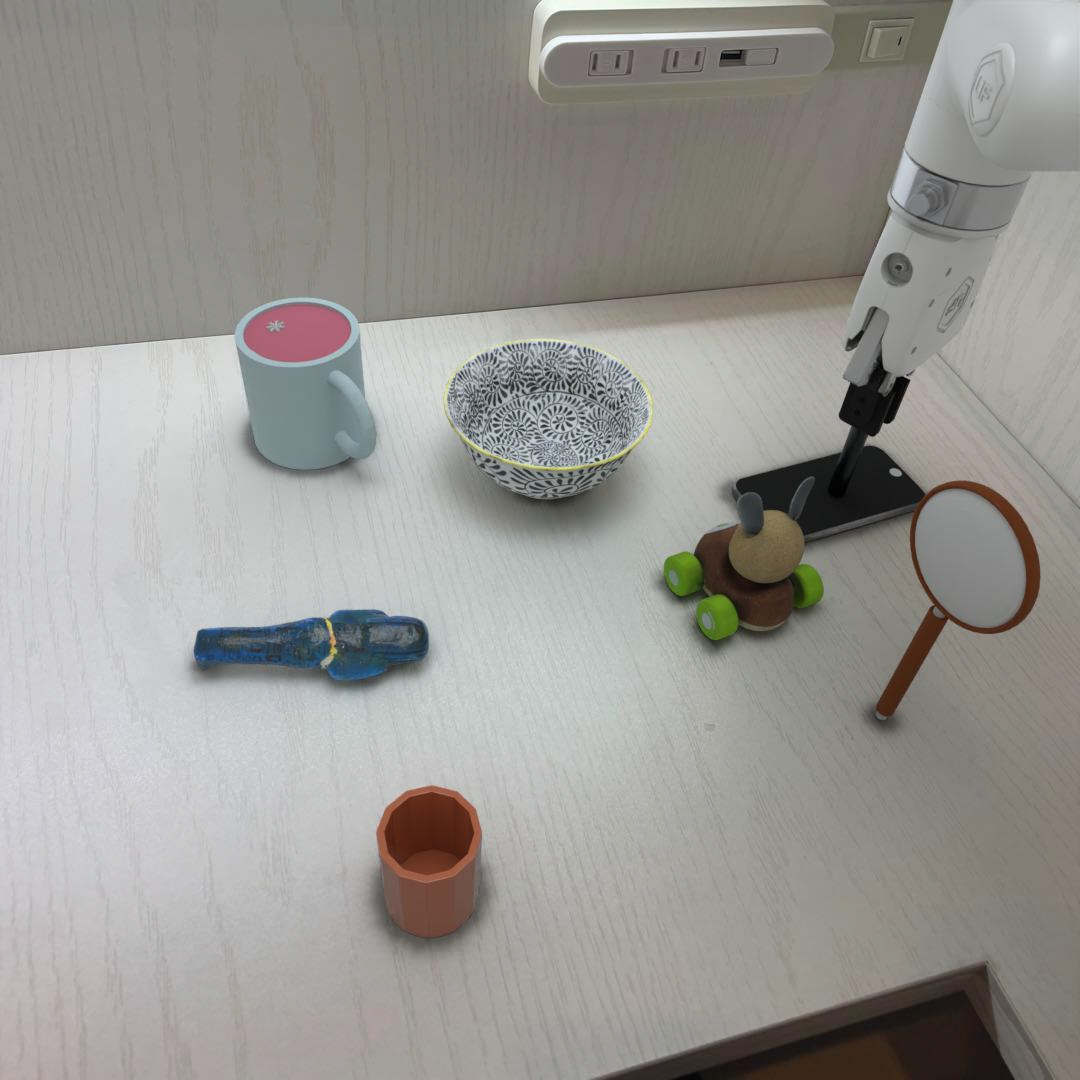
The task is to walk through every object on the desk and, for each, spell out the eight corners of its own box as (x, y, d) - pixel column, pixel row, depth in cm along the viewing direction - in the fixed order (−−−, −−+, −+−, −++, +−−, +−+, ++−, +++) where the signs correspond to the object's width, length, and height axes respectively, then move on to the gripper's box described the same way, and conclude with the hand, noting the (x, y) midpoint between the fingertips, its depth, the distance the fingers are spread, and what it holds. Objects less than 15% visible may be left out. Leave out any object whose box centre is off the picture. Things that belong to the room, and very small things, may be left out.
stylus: (848, 491, 78) (901, 359, 69) (839, 500, 78) (891, 367, 68) (833, 483, 79) (884, 350, 70) (823, 491, 78) (873, 357, 69)
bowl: (426, 527, 74) (424, 452, 69) (462, 399, 85) (463, 326, 80) (635, 553, 73) (649, 480, 68) (643, 422, 84) (656, 350, 79)
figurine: (197, 693, 63) (428, 687, 65) (185, 675, 60) (430, 669, 62) (202, 624, 65) (427, 620, 67) (192, 604, 62) (428, 600, 64)
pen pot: (497, 891, 55) (501, 832, 49) (428, 958, 52) (425, 903, 47) (435, 830, 57) (433, 768, 52) (365, 890, 54) (356, 831, 49)
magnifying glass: (831, 671, 67) (935, 452, 52) (852, 664, 67) (960, 445, 53) (910, 775, 61) (1050, 563, 47) (932, 767, 62) (1076, 554, 48)
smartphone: (934, 499, 79) (779, 544, 74) (931, 506, 79) (777, 551, 74) (876, 441, 83) (727, 480, 78) (873, 447, 84) (725, 486, 79)
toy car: (754, 536, 75) (790, 425, 67) (824, 616, 70) (872, 506, 62) (654, 570, 72) (679, 458, 64) (720, 657, 67) (756, 547, 59)
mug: (233, 426, 81) (211, 324, 73) (327, 385, 85) (316, 284, 78) (326, 517, 74) (312, 415, 67) (423, 467, 79) (420, 366, 71)
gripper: (952, 253, 54) (854, 494, 67) (1065, 172, 62) (958, 401, 75) (836, 202, 57) (764, 441, 70) (958, 132, 65) (874, 357, 79)
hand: (865, 419), depth 73 cm, fingers closed on stylus, 1 cm apart
